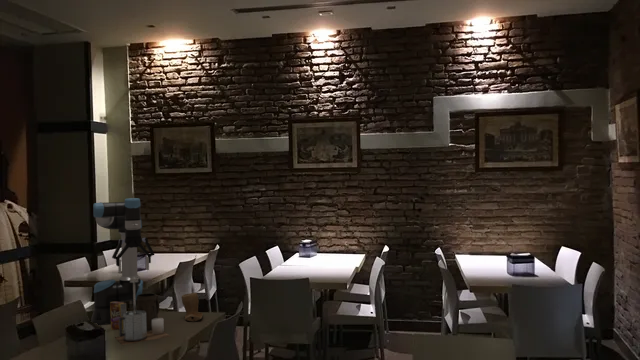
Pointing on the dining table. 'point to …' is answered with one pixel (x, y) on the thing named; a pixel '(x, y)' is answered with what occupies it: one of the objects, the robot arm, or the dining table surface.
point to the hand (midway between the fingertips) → (133, 271)
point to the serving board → (149, 337)
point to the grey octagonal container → (133, 326)
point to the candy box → (117, 313)
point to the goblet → (134, 280)
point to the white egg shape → (157, 326)
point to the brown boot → (191, 307)
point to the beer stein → (148, 307)
